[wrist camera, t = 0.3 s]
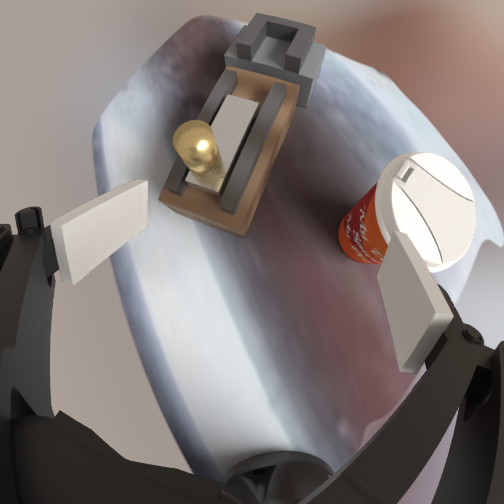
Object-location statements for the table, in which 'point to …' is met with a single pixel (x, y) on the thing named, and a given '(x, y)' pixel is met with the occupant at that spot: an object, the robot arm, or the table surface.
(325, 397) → the table surface
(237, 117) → the white and gold piece
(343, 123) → the table surface
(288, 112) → the door
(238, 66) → the bracket
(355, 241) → the coffee cup
